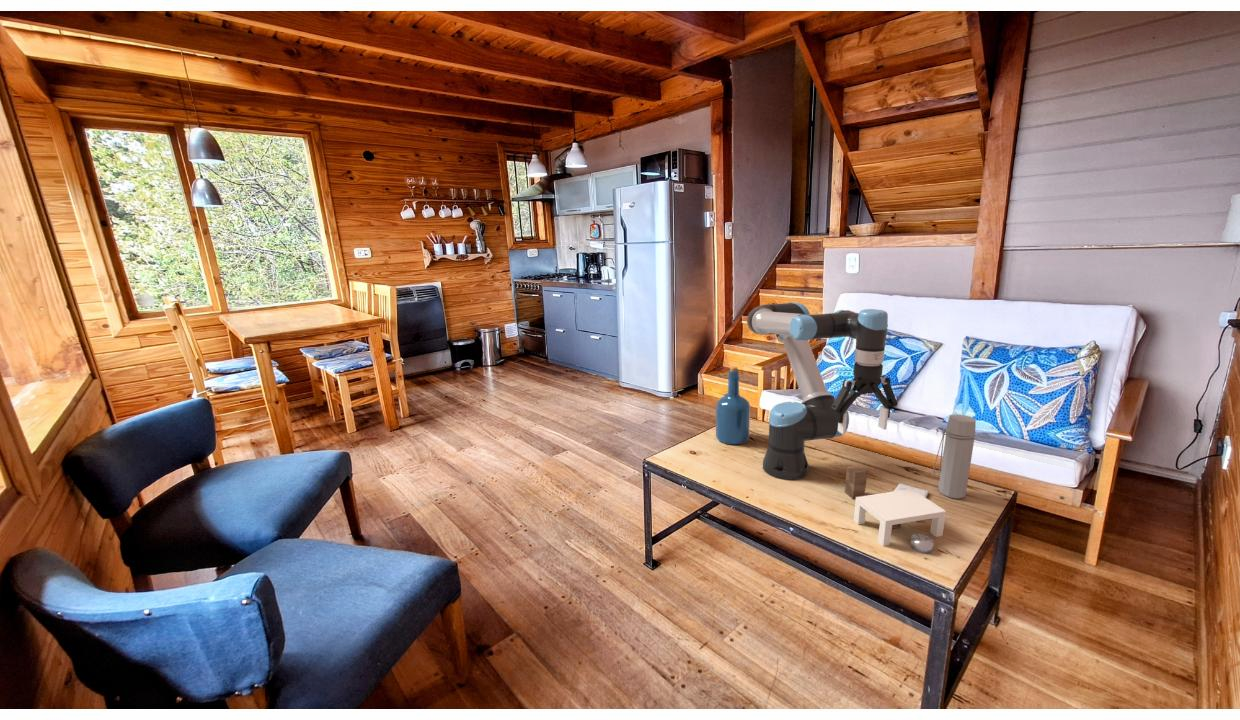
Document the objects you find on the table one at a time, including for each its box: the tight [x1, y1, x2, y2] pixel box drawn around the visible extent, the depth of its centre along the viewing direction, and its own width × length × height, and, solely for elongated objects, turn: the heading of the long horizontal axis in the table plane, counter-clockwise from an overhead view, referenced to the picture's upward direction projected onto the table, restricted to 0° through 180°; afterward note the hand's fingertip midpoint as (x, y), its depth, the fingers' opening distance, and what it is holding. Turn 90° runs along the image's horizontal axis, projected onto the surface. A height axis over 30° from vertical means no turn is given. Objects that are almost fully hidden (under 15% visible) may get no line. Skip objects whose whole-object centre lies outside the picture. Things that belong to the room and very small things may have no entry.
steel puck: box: [909, 533, 935, 555], centre depth 126 cm, size 5×5×2 cm
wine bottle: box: [715, 366, 751, 445], centre depth 193 cm, size 14×13×30 cm
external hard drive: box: [893, 483, 929, 498], centre depth 149 cm, size 2×8×12 cm
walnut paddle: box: [844, 464, 902, 529], centre depth 144 cm, size 20×4×9 cm, turn 11°
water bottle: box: [933, 413, 977, 499], centre depth 148 cm, size 9×8×25 cm
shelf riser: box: [853, 489, 947, 547], centre depth 134 cm, size 12×18×8 cm, turn 101°
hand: (861, 430), depth 148 cm, fingers open, 13 cm apart
